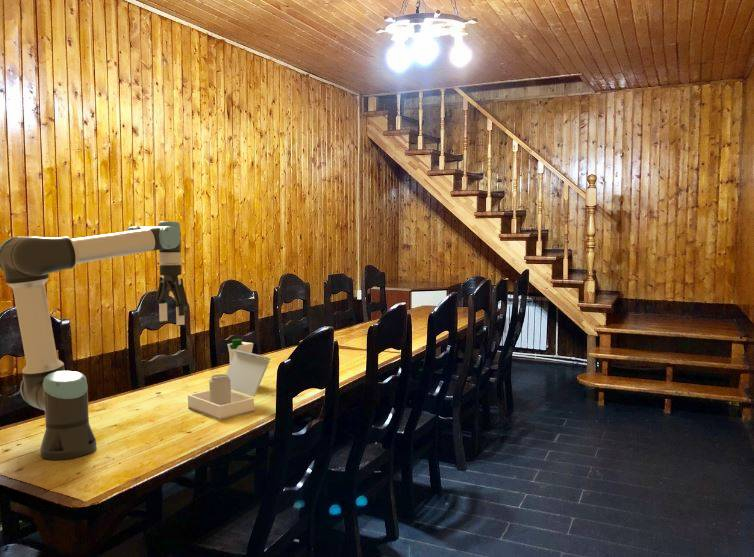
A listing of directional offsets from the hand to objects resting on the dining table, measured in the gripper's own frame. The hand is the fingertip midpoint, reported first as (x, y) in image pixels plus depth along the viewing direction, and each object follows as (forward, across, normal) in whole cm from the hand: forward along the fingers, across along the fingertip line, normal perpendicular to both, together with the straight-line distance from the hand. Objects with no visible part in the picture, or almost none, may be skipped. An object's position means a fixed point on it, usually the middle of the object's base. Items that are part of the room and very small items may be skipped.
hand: (171, 322), depth 229 cm
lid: (+19, -11, -21) cm, 31 cm away
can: (+31, -12, -13) cm, 36 cm away
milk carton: (+32, +14, -37) cm, 51 cm away
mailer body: (+32, -12, -13) cm, 36 cm away
